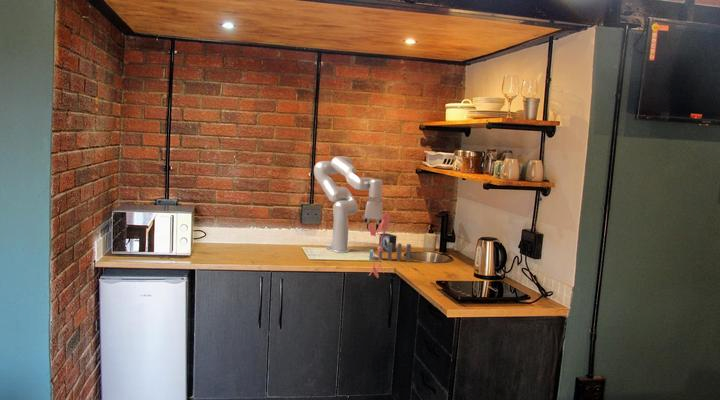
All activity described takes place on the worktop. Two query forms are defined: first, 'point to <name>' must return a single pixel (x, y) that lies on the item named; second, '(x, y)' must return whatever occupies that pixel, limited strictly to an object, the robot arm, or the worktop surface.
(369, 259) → the domino
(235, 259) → the worktop surface
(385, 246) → the small box
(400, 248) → the domino
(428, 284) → the worktop surface
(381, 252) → the domino
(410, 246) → the domino
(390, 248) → the domino
